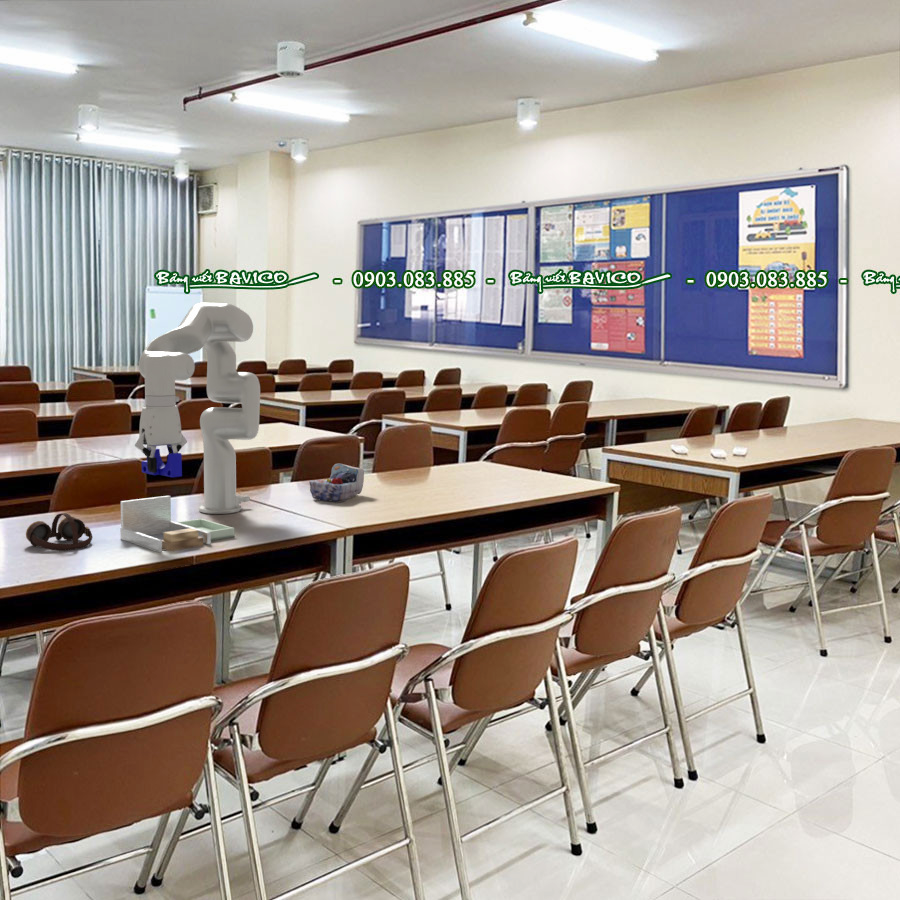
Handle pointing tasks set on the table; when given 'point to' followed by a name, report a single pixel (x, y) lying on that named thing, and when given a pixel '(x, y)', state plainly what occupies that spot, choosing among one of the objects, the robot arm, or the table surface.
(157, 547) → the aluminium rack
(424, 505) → the table surface
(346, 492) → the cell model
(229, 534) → the sage tray
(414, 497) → the table surface
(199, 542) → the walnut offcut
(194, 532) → the oak offcut
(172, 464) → the cable clip
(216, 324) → the robot arm
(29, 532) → the goggles
